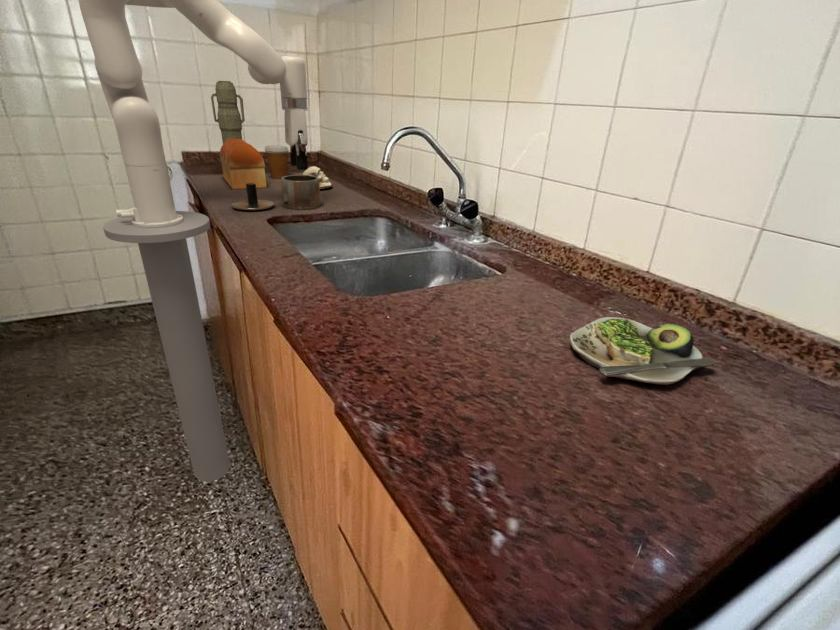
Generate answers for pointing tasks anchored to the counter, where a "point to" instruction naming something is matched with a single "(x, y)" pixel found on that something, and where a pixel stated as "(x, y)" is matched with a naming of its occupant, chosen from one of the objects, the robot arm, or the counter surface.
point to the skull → (317, 173)
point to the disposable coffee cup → (277, 160)
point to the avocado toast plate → (638, 350)
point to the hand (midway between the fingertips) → (299, 167)
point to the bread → (242, 164)
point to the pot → (300, 191)
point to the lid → (252, 200)
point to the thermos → (228, 110)
